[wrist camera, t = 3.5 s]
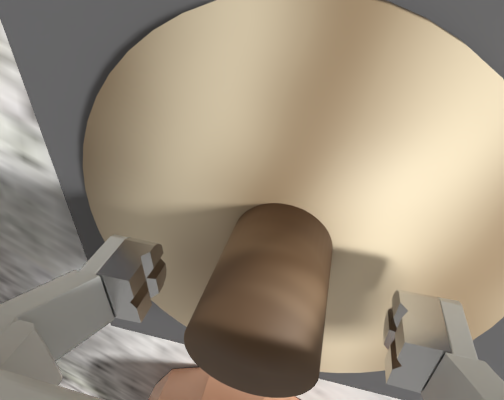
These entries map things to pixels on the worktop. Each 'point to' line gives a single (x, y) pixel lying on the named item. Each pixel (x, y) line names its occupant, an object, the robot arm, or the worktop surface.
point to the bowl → (199, 388)
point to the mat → (109, 55)
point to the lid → (302, 180)
